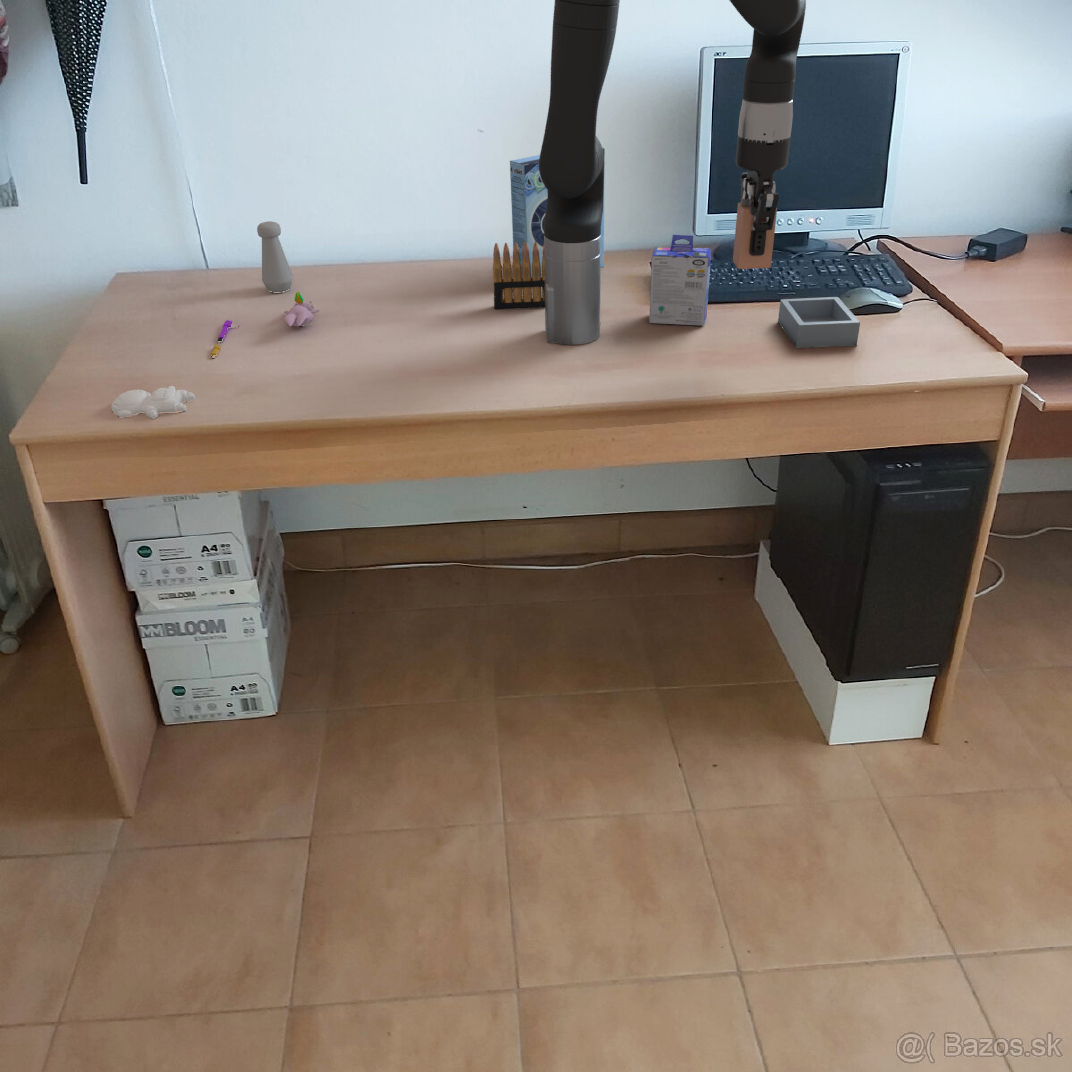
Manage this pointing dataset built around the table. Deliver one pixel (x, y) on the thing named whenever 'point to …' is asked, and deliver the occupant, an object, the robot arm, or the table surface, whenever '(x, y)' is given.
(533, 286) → the ammunition clip
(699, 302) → the ink cartridge box
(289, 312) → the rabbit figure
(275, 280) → the salt shaker
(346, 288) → the table surface
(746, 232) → the tan slab
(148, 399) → the white flat lumpy piece
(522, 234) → the blue fan box
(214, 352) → the marker pen
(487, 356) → the table surface
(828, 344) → the organizer bin
